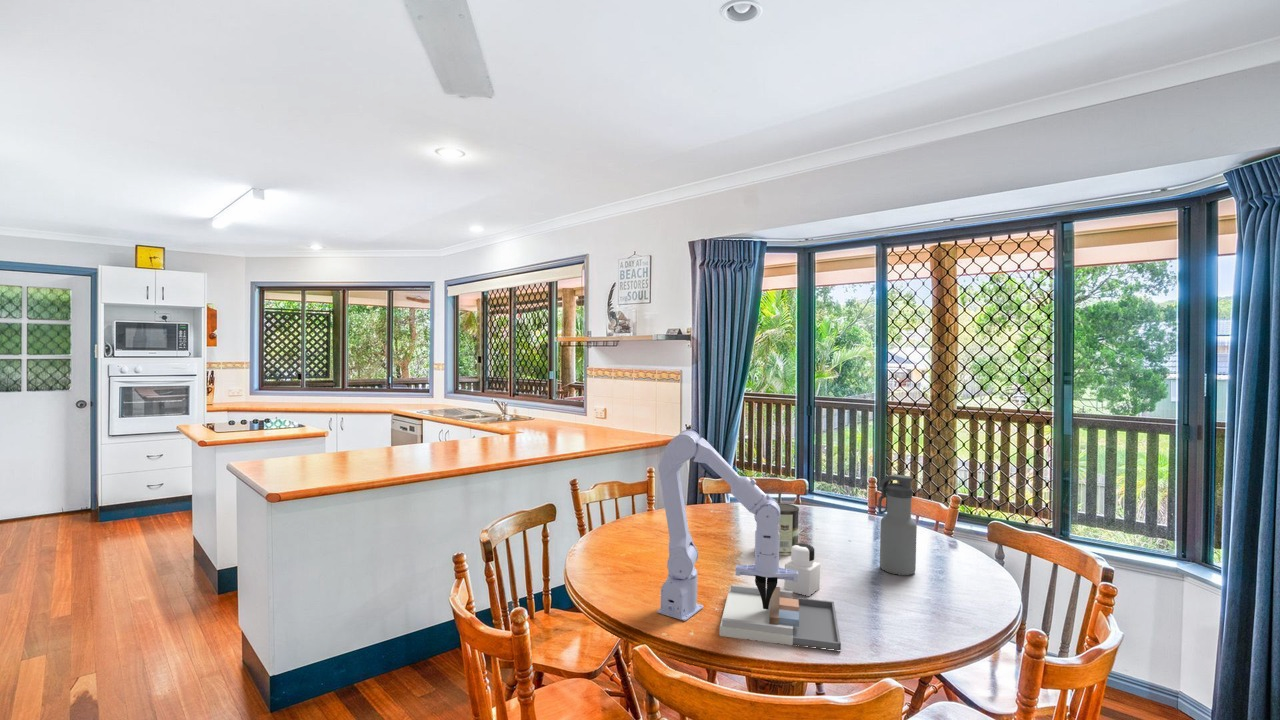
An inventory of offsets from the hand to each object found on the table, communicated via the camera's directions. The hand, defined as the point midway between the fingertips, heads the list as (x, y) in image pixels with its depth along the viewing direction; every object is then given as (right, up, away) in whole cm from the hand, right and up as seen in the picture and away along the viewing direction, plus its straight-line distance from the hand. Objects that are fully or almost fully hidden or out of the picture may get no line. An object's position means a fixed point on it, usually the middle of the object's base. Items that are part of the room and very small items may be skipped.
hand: (765, 607), depth 143 cm
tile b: (+4, -1, -5) cm, 7 cm away
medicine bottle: (+14, -3, +19) cm, 23 cm away
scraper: (+2, -1, 0) cm, 2 cm away
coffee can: (+16, -2, +50) cm, 52 cm away
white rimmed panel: (-2, -3, 0) cm, 3 cm away
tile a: (+6, -1, +2) cm, 7 cm away
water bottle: (+46, -3, +34) cm, 57 cm away
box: (+11, -3, -3) cm, 12 cm away
